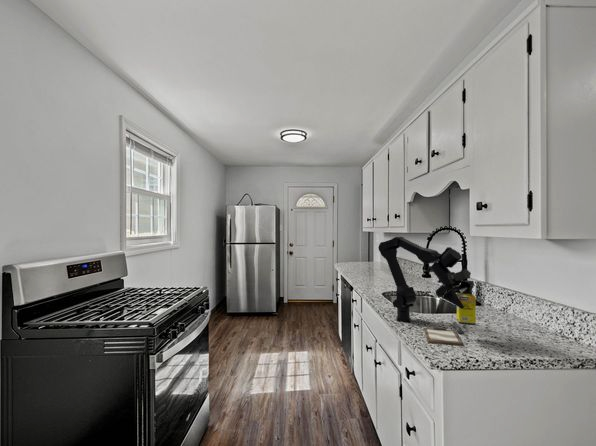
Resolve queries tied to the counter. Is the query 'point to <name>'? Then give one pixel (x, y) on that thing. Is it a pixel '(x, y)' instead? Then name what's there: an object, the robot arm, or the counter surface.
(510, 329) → the counter surface
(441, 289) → the robot arm
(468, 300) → the supplement box
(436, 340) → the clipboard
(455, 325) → the dark grey rod
